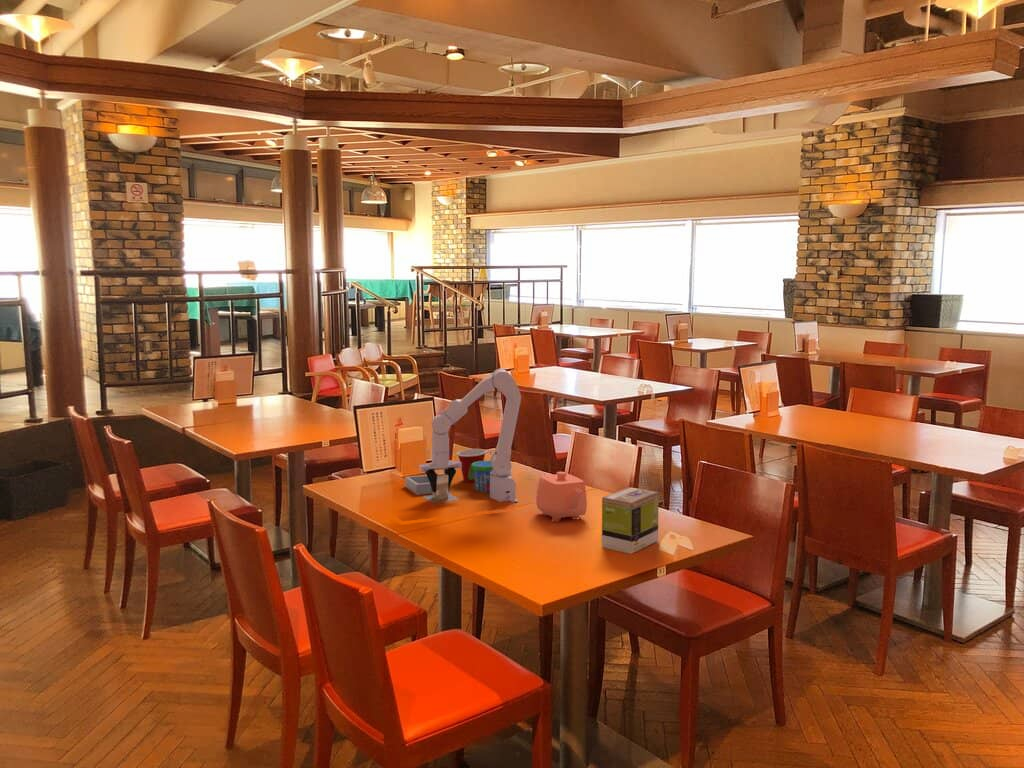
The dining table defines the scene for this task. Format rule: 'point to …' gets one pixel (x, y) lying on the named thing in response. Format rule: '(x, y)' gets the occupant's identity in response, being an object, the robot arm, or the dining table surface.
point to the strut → (441, 486)
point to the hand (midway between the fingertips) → (440, 490)
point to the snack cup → (481, 475)
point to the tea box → (629, 520)
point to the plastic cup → (470, 461)
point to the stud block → (433, 500)
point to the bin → (418, 484)
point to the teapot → (561, 496)
